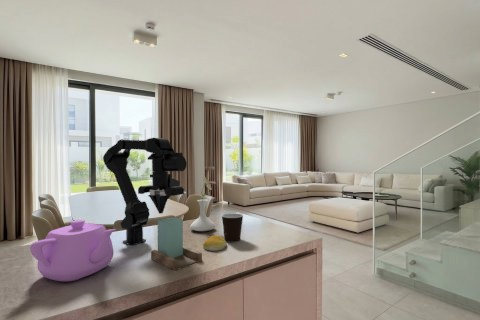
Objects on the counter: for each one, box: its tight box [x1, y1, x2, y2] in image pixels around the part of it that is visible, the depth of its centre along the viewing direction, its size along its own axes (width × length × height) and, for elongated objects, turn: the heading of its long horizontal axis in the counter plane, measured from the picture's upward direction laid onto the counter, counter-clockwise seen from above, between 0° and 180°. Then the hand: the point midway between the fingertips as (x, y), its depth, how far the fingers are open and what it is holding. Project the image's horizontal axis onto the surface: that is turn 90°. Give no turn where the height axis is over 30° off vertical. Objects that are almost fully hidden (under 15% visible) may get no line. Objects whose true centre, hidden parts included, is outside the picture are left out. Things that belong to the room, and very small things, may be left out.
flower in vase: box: [190, 175, 216, 232], centre depth 122 cm, size 13×11×25 cm
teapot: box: [29, 219, 116, 282], centre depth 74 cm, size 23×21×15 cm
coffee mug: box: [221, 212, 244, 243], centre depth 108 cm, size 12×9×10 cm
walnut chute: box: [150, 245, 203, 271], centre depth 86 cm, size 14×10×2 cm
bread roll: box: [202, 234, 227, 252], centre depth 98 cm, size 8×9×4 cm
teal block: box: [157, 216, 184, 258], centre depth 88 cm, size 6×6×12 cm
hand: (161, 213), depth 97 cm, fingers closed
